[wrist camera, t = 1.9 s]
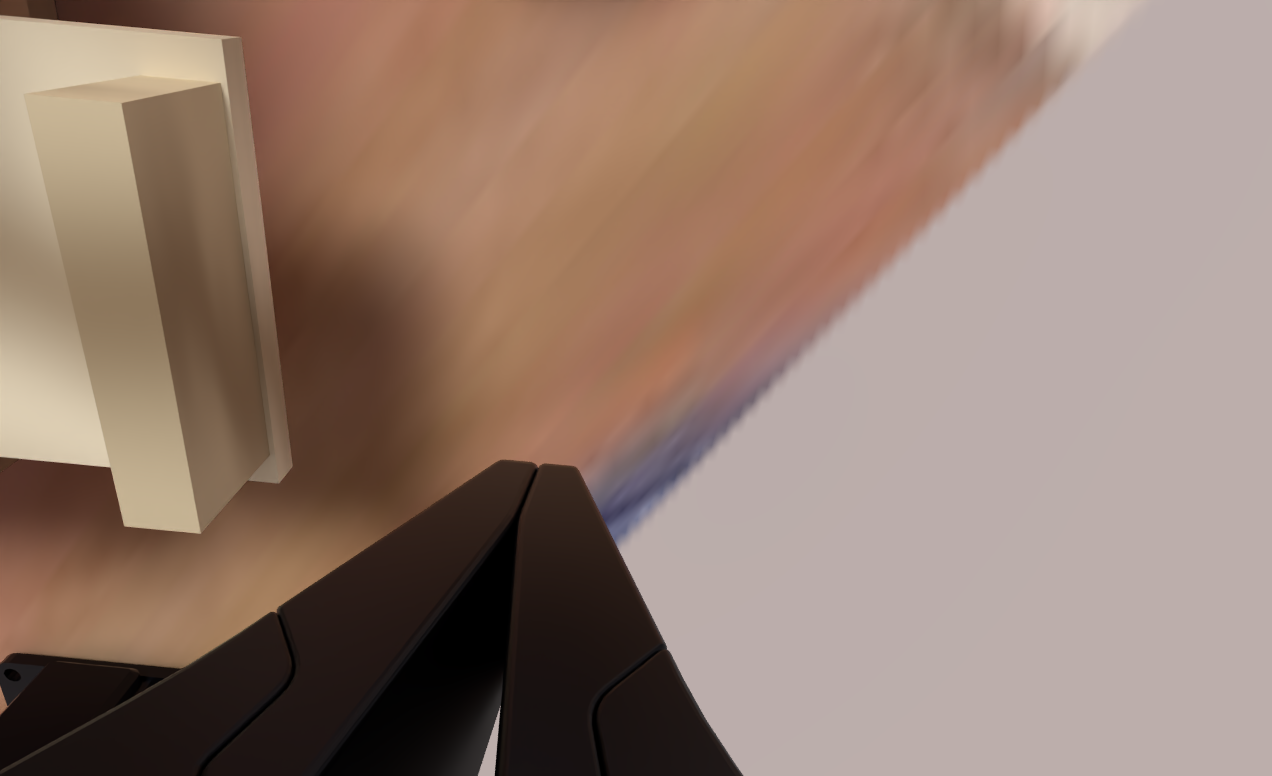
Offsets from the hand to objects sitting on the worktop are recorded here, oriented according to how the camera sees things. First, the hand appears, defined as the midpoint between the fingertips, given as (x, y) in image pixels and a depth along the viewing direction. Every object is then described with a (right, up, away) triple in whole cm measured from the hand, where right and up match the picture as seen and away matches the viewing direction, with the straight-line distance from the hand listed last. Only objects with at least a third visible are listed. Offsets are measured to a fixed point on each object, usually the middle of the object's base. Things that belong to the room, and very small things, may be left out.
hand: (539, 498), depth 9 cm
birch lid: (-11, +4, +5) cm, 12 cm away
